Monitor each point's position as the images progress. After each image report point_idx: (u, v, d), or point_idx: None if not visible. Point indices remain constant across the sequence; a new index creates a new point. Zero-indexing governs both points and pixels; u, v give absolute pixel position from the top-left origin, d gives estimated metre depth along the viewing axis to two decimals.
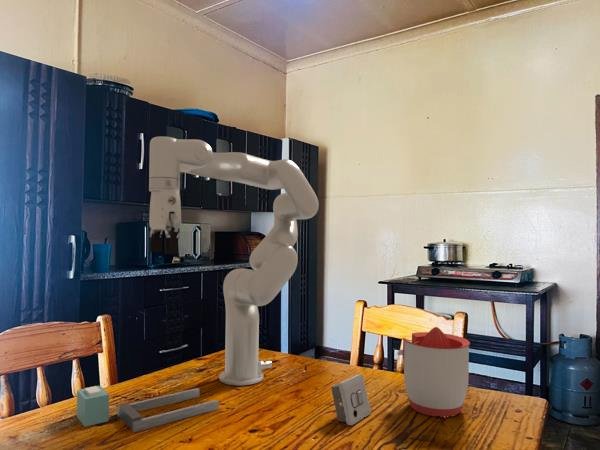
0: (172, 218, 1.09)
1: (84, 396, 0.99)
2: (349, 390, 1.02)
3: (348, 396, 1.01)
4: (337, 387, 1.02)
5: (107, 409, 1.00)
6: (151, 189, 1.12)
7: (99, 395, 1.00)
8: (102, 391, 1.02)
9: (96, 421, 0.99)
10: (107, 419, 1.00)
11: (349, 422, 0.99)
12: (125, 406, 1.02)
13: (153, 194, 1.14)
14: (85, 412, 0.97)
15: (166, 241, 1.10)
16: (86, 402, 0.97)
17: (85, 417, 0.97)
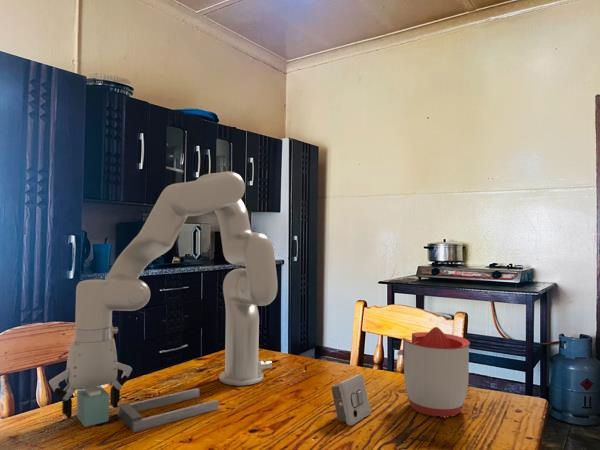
0: (123, 367, 1.05)
1: (84, 396, 0.99)
2: (349, 390, 1.02)
3: (348, 396, 1.01)
4: (337, 387, 1.02)
5: (107, 409, 1.00)
6: (101, 342, 0.99)
7: (99, 395, 1.00)
8: (102, 391, 1.02)
9: (96, 421, 0.99)
10: (107, 419, 1.00)
11: (349, 422, 0.99)
12: (125, 406, 1.02)
13: (91, 347, 0.99)
14: (85, 412, 0.97)
15: (117, 393, 1.04)
16: (86, 402, 0.97)
17: (85, 417, 0.97)
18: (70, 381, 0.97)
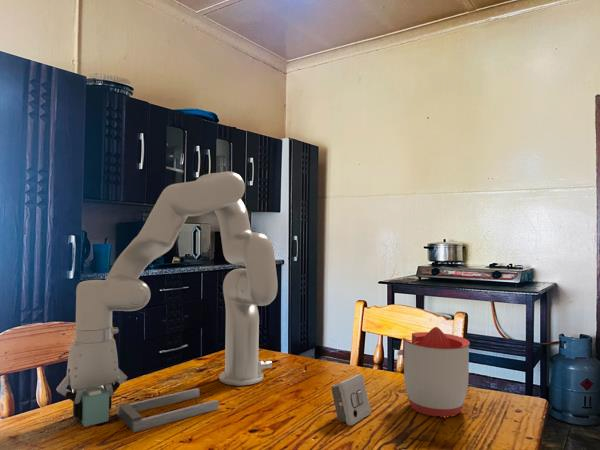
0: (120, 373, 1.05)
1: (84, 396, 0.99)
2: (349, 390, 1.02)
3: (348, 396, 1.01)
4: (337, 387, 1.02)
5: (107, 409, 1.00)
6: (101, 343, 0.99)
7: (99, 395, 1.00)
8: (102, 391, 1.02)
9: (96, 421, 0.99)
10: (107, 419, 1.00)
11: (349, 422, 0.99)
12: (125, 406, 1.02)
13: (92, 348, 0.99)
14: (85, 412, 0.97)
15: (109, 400, 1.02)
16: (86, 402, 0.97)
17: (85, 417, 0.97)
18: (71, 382, 0.97)
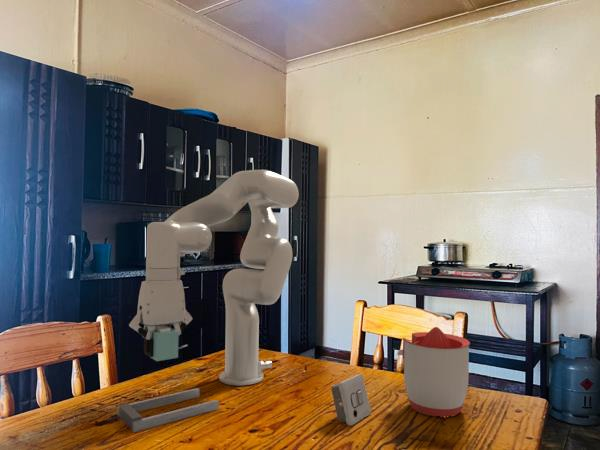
0: (186, 314, 1.08)
1: (155, 332, 1.02)
2: (349, 390, 1.02)
3: (348, 396, 1.01)
4: (337, 387, 1.02)
5: (176, 345, 1.03)
6: (172, 281, 1.02)
7: (169, 331, 1.02)
8: (170, 329, 1.05)
9: (167, 356, 1.01)
10: (176, 355, 1.03)
11: (349, 422, 0.99)
12: (125, 406, 1.02)
13: (163, 286, 1.02)
14: (157, 347, 1.00)
15: None
16: (158, 337, 1.00)
17: (157, 351, 1.00)
18: (143, 317, 1.00)
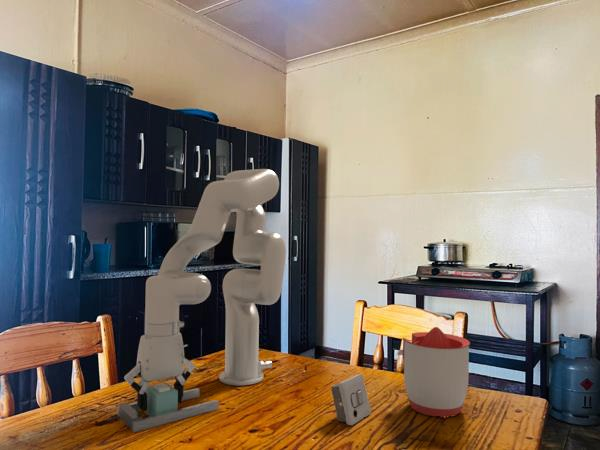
0: (188, 363, 1.08)
1: (154, 392, 1.02)
2: (349, 390, 1.02)
3: (348, 396, 1.01)
4: (337, 387, 1.02)
5: (176, 405, 1.03)
6: (171, 336, 1.02)
7: (168, 391, 1.02)
8: (170, 388, 1.05)
9: None
10: None
11: (349, 422, 0.99)
12: (125, 406, 1.02)
13: (162, 341, 1.02)
14: (156, 408, 1.00)
15: None
16: (157, 398, 1.00)
17: (156, 413, 1.00)
18: (143, 374, 1.00)
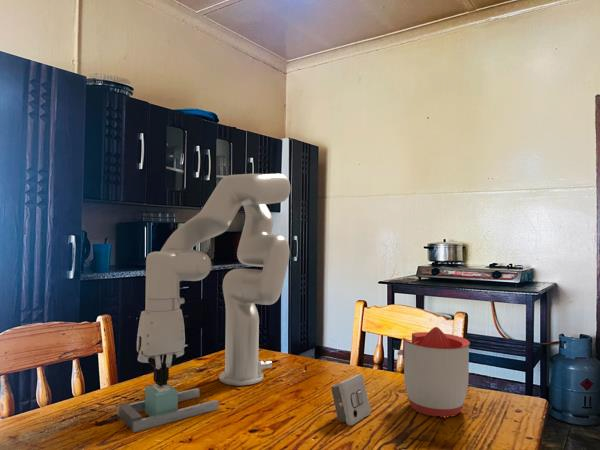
0: None
1: (154, 392, 1.02)
2: (349, 390, 1.02)
3: (348, 396, 1.01)
4: (337, 387, 1.02)
5: (176, 405, 1.03)
6: (171, 311, 1.02)
7: (169, 391, 1.02)
8: (170, 388, 1.05)
9: None
10: None
11: (349, 422, 0.99)
12: (125, 406, 1.02)
13: (162, 316, 1.02)
14: (156, 408, 1.00)
15: None
16: (157, 398, 1.00)
17: (156, 413, 1.00)
18: (143, 348, 1.00)
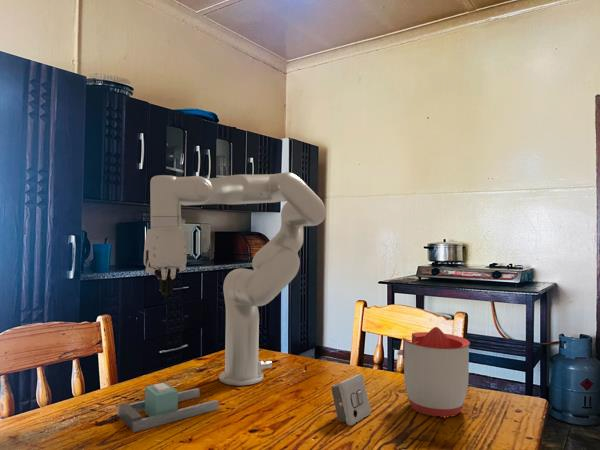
0: None
1: (154, 392, 1.02)
2: (349, 390, 1.02)
3: (348, 396, 1.01)
4: (337, 387, 1.02)
5: (176, 405, 1.03)
6: (174, 228, 1.14)
7: (168, 391, 1.02)
8: (170, 388, 1.05)
9: None
10: None
11: (349, 422, 0.99)
12: (125, 406, 1.02)
13: (166, 232, 1.14)
14: (156, 408, 1.00)
15: None
16: (157, 398, 1.00)
17: (156, 413, 1.00)
18: (150, 260, 1.12)
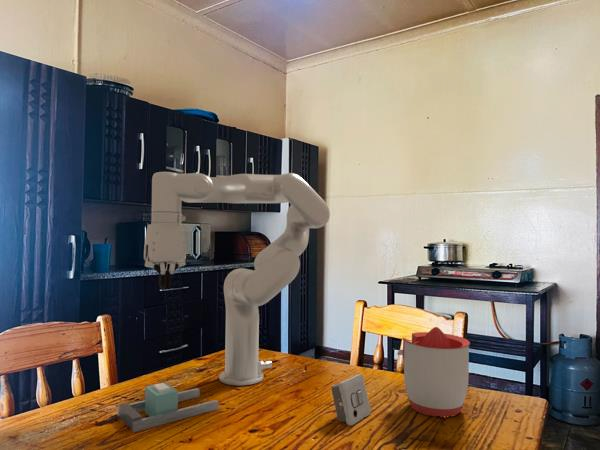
0: None
1: (154, 392, 1.02)
2: (349, 390, 1.02)
3: (348, 396, 1.01)
4: (337, 387, 1.02)
5: (176, 405, 1.03)
6: (174, 223, 1.16)
7: (168, 391, 1.02)
8: (170, 388, 1.05)
9: None
10: None
11: (349, 422, 0.99)
12: (125, 406, 1.02)
13: (166, 227, 1.16)
14: (156, 408, 1.00)
15: None
16: (157, 398, 1.00)
17: (156, 413, 1.00)
18: (149, 254, 1.14)
